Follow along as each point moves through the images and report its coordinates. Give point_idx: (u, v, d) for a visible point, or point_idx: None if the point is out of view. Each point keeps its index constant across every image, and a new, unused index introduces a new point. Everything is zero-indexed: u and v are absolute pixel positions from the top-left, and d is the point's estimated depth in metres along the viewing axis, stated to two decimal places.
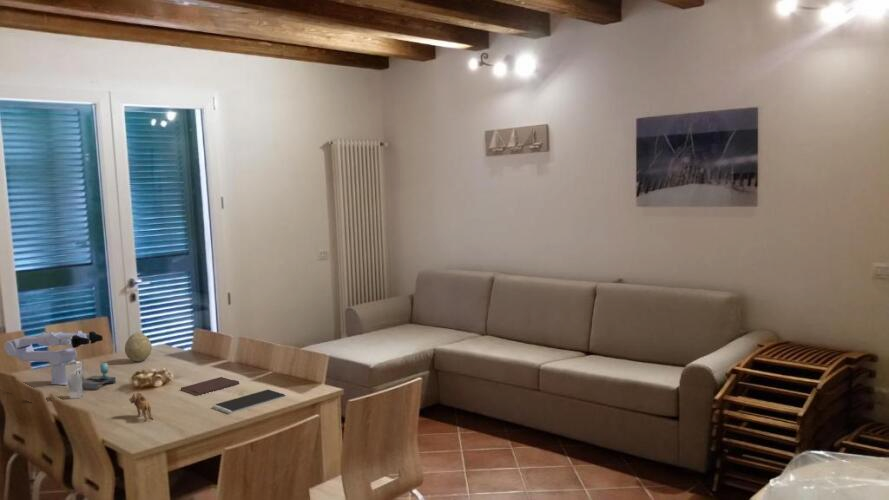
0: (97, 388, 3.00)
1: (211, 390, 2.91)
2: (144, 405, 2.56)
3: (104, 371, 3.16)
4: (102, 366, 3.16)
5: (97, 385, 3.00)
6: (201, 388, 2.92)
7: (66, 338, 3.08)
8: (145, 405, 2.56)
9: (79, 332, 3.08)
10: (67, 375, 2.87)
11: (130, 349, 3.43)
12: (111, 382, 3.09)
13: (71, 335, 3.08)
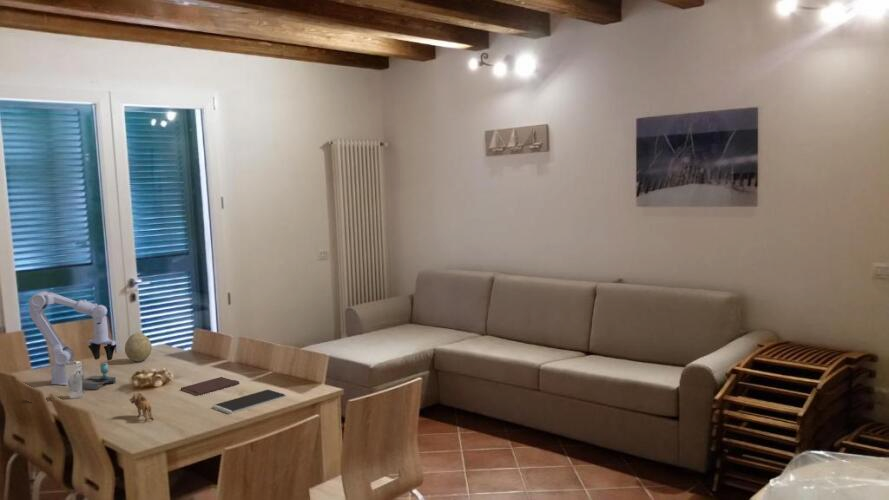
0: (97, 388, 3.00)
1: (211, 390, 2.91)
2: (144, 405, 2.56)
3: (104, 371, 3.16)
4: (102, 366, 3.16)
5: (97, 385, 3.00)
6: (201, 388, 2.92)
7: (101, 331, 3.14)
8: (146, 405, 2.56)
9: None
10: (67, 375, 2.87)
11: (130, 349, 3.43)
12: (111, 382, 3.09)
13: None
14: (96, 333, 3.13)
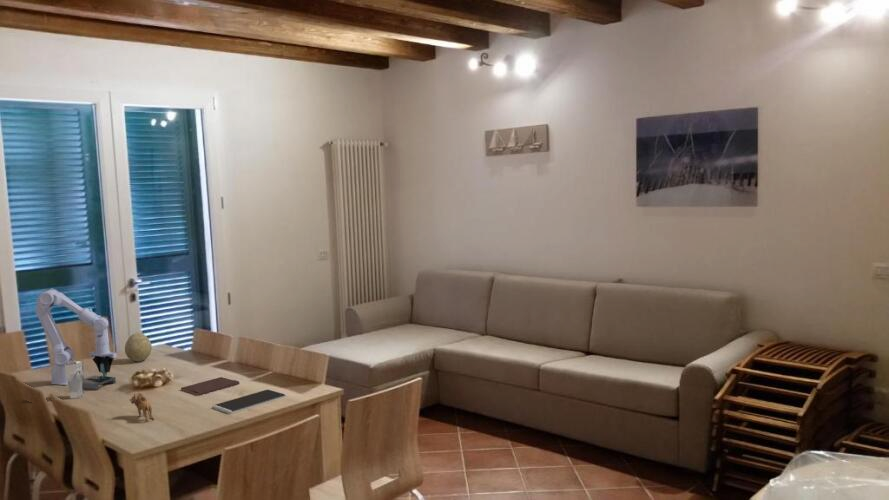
0: (97, 388, 3.00)
1: (211, 390, 2.91)
2: (145, 405, 2.56)
3: (104, 371, 3.16)
4: (102, 366, 3.16)
5: (97, 385, 3.00)
6: (201, 388, 2.92)
7: (102, 344, 3.14)
8: (146, 405, 2.56)
9: None
10: (67, 375, 2.87)
11: (130, 349, 3.43)
12: (111, 382, 3.09)
13: None
14: (97, 346, 3.14)
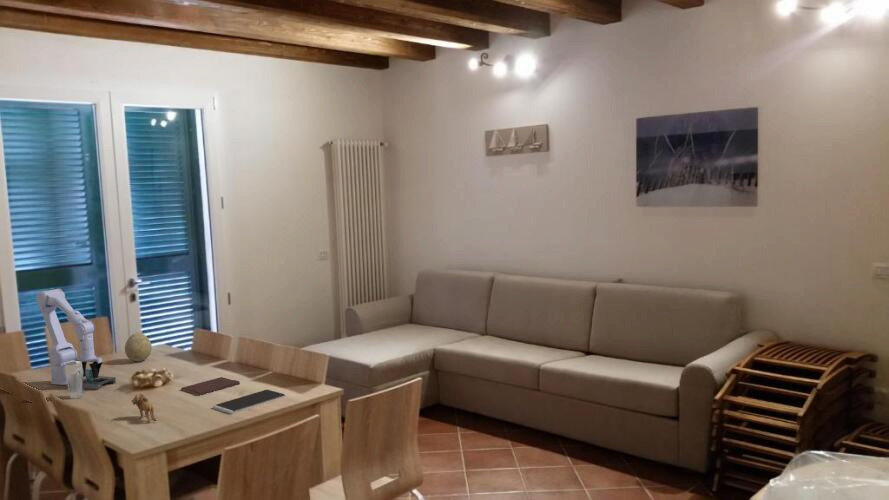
0: (97, 388, 3.00)
1: (212, 390, 2.91)
2: (147, 406, 2.55)
3: (89, 377, 3.07)
4: (87, 372, 3.06)
5: (97, 385, 3.00)
6: (202, 388, 2.92)
7: (83, 349, 3.04)
8: (148, 406, 2.55)
9: None
10: (67, 375, 2.87)
11: (130, 349, 3.43)
12: (111, 382, 3.09)
13: None
14: (82, 350, 3.04)
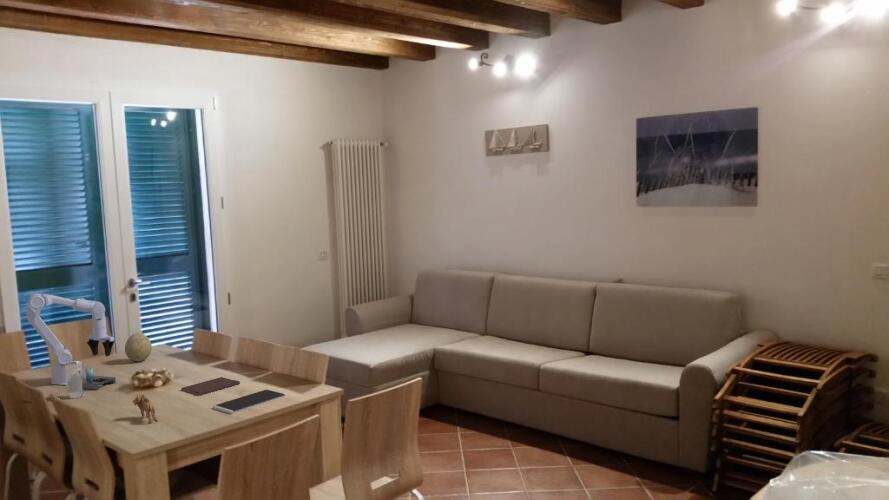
0: (97, 388, 3.00)
1: (212, 390, 2.90)
2: (148, 407, 2.54)
3: (89, 377, 3.07)
4: (87, 372, 3.06)
5: (97, 385, 3.00)
6: (202, 388, 2.92)
7: (102, 327, 3.18)
8: (149, 407, 2.54)
9: None
10: (67, 375, 2.87)
11: (130, 349, 3.43)
12: (111, 382, 3.09)
13: None
14: (94, 329, 3.17)
